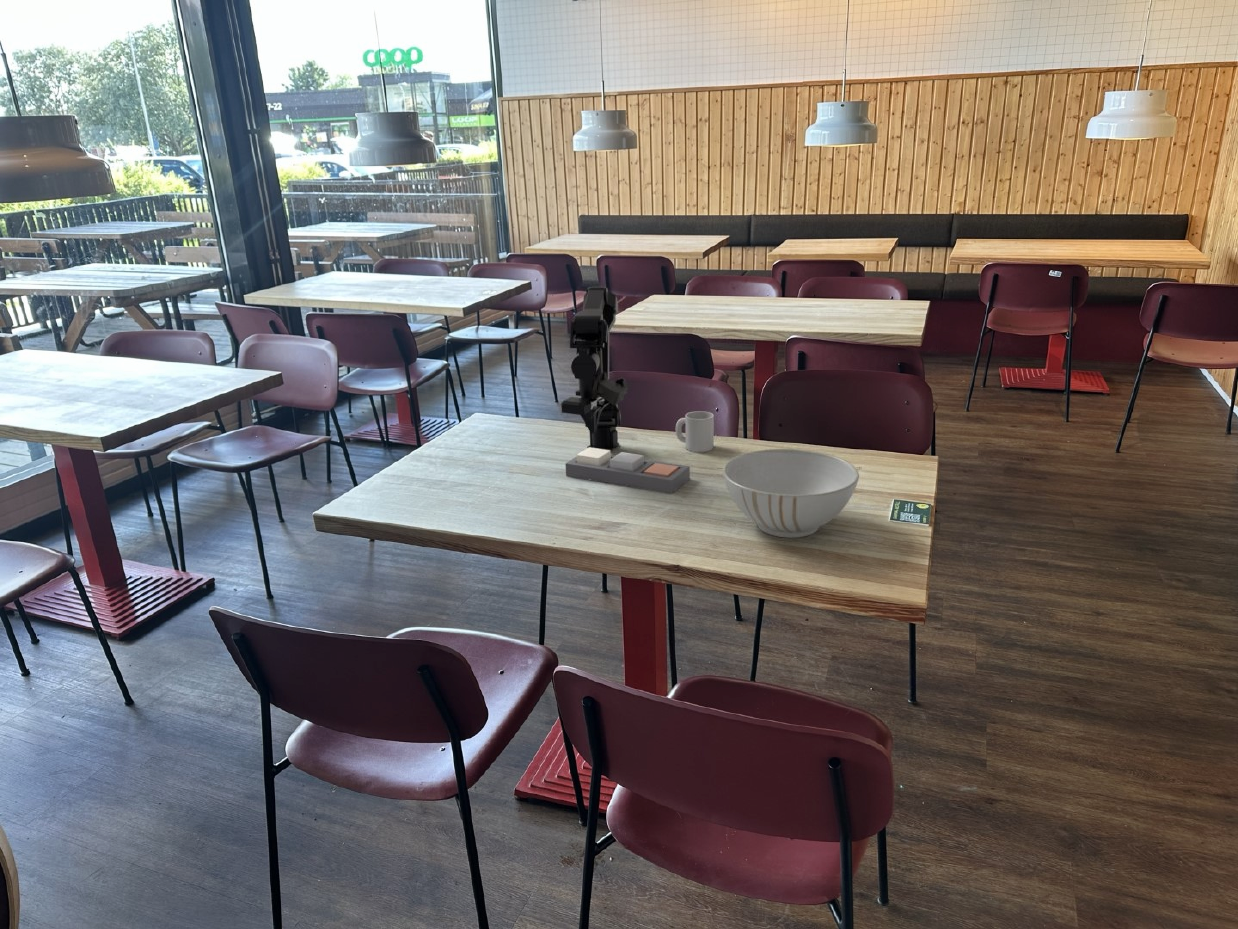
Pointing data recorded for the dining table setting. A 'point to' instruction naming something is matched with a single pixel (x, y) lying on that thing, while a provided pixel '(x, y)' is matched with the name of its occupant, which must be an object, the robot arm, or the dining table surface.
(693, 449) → the cup
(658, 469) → the terracotta key
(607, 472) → the frame
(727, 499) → the dining table surface
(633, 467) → the grey key
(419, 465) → the dining table surface
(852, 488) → the decorative bowl
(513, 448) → the dining table surface
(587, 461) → the cream key
